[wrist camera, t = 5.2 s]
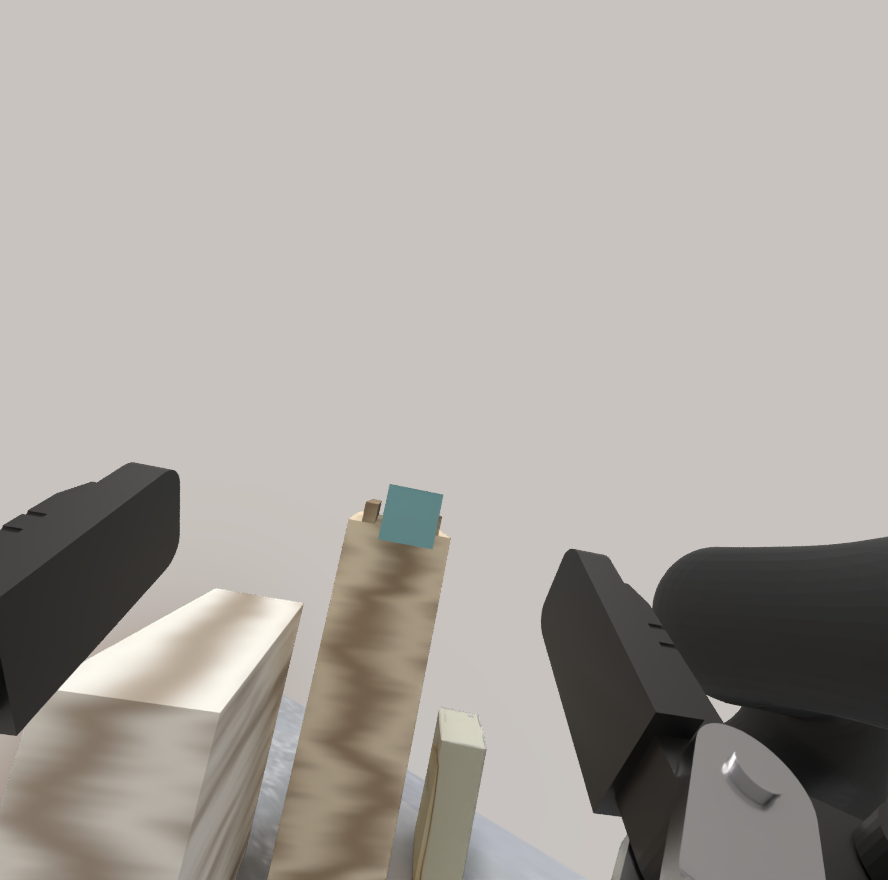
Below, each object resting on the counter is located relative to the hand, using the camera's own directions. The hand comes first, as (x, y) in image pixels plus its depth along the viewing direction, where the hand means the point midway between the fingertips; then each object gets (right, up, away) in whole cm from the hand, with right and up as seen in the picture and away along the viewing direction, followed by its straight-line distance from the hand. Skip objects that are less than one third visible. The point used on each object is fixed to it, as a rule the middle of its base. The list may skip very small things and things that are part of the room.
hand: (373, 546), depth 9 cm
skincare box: (+1, -37, +30) cm, 48 cm away
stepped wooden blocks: (-13, -33, +20) cm, 41 cm away
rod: (-2, -5, +27) cm, 27 cm away
